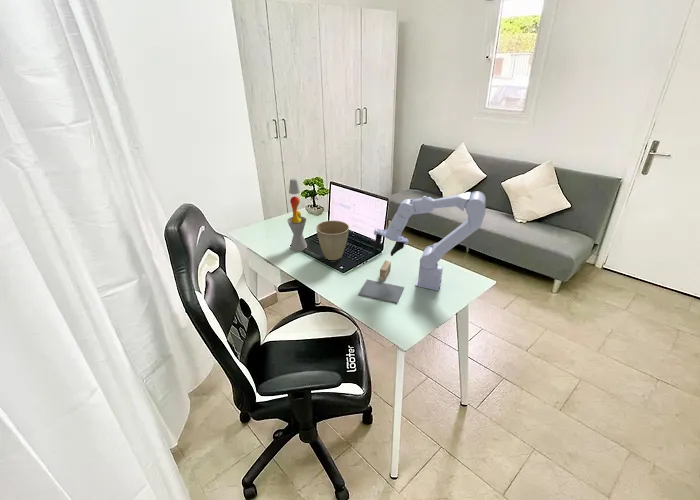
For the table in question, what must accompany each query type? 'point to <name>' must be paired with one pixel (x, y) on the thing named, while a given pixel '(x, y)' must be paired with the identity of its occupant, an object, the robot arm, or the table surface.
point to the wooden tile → (385, 270)
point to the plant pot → (332, 238)
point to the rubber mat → (381, 291)
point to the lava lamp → (296, 220)
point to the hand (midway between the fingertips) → (383, 251)
